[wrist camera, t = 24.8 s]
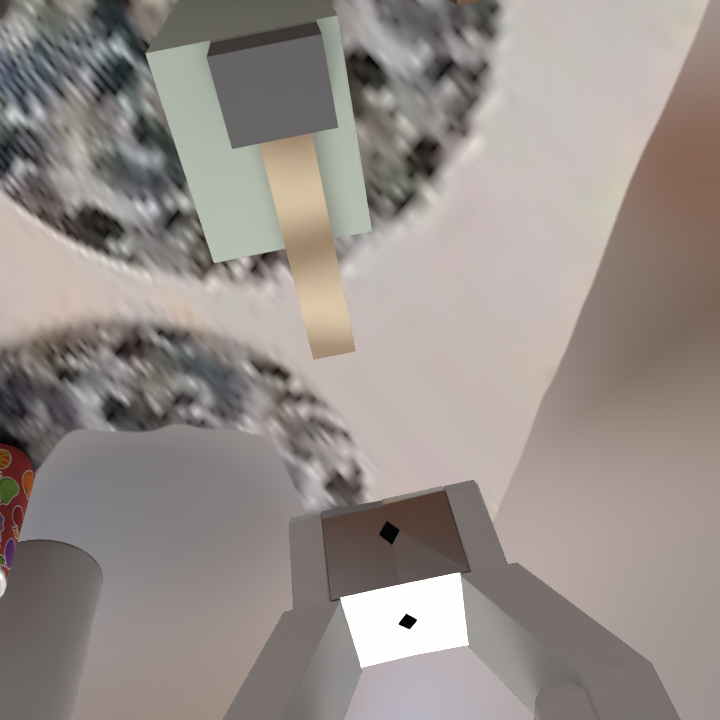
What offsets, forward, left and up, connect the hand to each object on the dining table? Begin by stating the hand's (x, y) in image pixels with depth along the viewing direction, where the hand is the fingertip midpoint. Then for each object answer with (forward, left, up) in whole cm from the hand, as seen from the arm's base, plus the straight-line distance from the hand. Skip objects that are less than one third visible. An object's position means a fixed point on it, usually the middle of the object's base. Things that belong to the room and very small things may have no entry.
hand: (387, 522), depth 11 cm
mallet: (-1, -6, -27) cm, 27 cm away
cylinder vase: (-39, -50, -44) cm, 77 cm away
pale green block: (-2, -3, -44) cm, 44 cm away
